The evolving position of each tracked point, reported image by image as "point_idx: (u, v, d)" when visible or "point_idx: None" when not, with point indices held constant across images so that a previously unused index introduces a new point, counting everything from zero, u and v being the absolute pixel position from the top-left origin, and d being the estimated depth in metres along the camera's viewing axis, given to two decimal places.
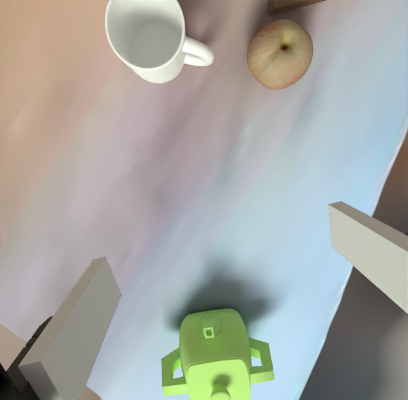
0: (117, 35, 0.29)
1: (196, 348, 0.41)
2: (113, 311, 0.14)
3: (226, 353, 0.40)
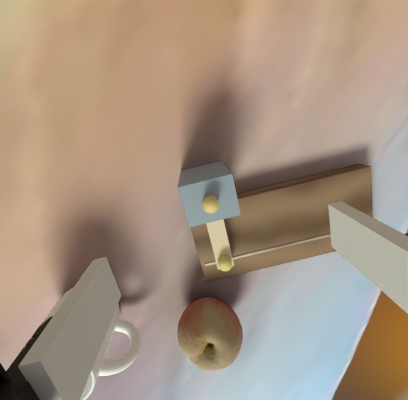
0: None
1: None
2: (113, 311, 0.14)
3: None
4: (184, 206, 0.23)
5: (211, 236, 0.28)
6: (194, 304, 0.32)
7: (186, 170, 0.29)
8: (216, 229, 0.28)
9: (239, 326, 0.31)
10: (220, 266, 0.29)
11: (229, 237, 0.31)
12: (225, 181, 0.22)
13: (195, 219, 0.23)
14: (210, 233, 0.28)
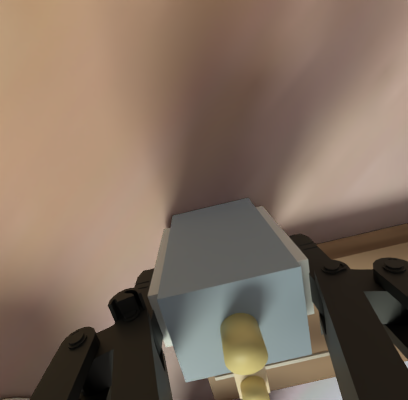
0: None
1: None
2: None
3: None
4: (175, 340, 0.09)
5: None
6: None
7: (182, 217, 0.15)
8: None
9: None
10: None
11: None
12: (281, 283, 0.09)
13: (202, 366, 0.09)
14: None
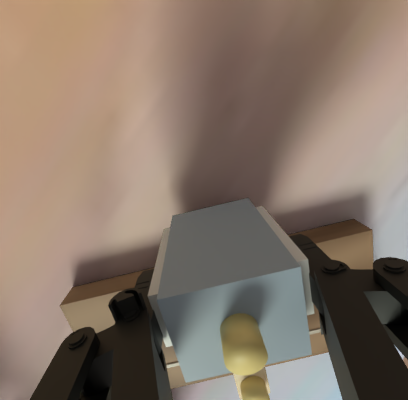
0: None
1: None
2: None
3: None
4: (174, 340, 0.09)
5: None
6: None
7: (182, 218, 0.15)
8: None
9: None
10: None
11: None
12: (281, 284, 0.09)
13: (202, 366, 0.09)
14: None
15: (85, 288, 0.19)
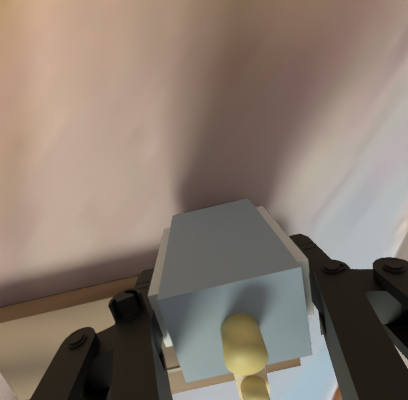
0: None
1: None
2: None
3: None
4: (175, 340, 0.09)
5: None
6: None
7: (183, 218, 0.15)
8: None
9: None
10: None
11: None
12: (281, 284, 0.09)
13: (202, 366, 0.09)
14: None
15: (4, 311, 0.18)
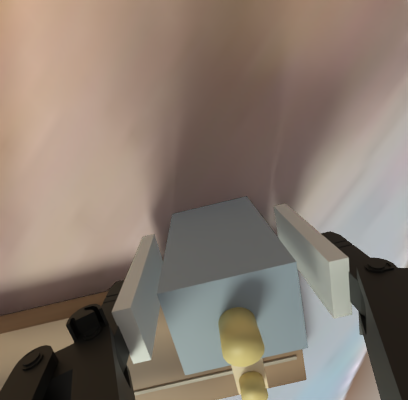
0: None
1: None
2: None
3: None
4: (174, 334, 0.09)
5: None
6: None
7: (182, 216, 0.16)
8: None
9: None
10: (245, 399, 0.15)
11: None
12: (277, 278, 0.09)
13: (200, 359, 0.10)
14: None
15: None
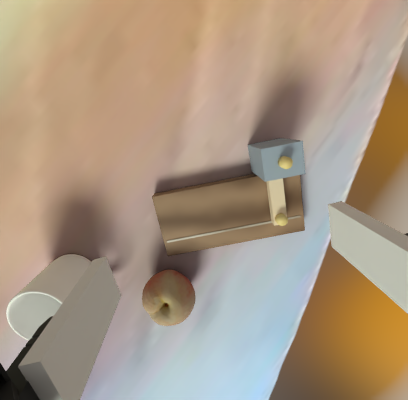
0: (27, 298, 0.36)
1: None
2: (113, 311, 0.14)
3: None
4: (263, 164, 0.30)
5: (272, 197, 0.36)
6: (157, 273, 0.40)
7: (253, 144, 0.36)
8: (276, 191, 0.35)
9: (191, 292, 0.38)
10: (278, 221, 0.36)
11: (186, 219, 0.38)
12: (296, 146, 0.30)
13: (270, 175, 0.30)
14: (271, 194, 0.36)
15: (161, 193, 0.38)
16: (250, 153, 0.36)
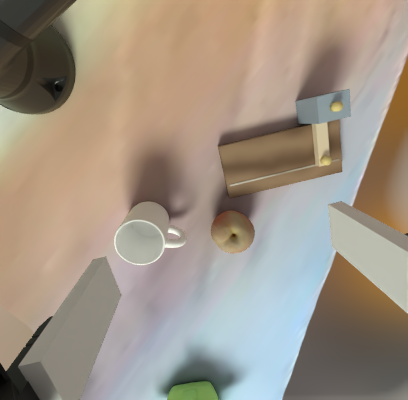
0: (121, 232, 0.44)
1: None
2: (113, 311, 0.14)
3: None
4: (318, 109, 0.38)
5: (318, 141, 0.44)
6: (222, 213, 0.48)
7: None
8: (322, 136, 0.44)
9: (252, 225, 0.47)
10: (324, 161, 0.44)
11: (246, 166, 0.46)
12: (344, 93, 0.38)
13: (323, 118, 0.39)
14: (318, 139, 0.44)
15: (224, 144, 0.46)
16: (298, 107, 0.44)
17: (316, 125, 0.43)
